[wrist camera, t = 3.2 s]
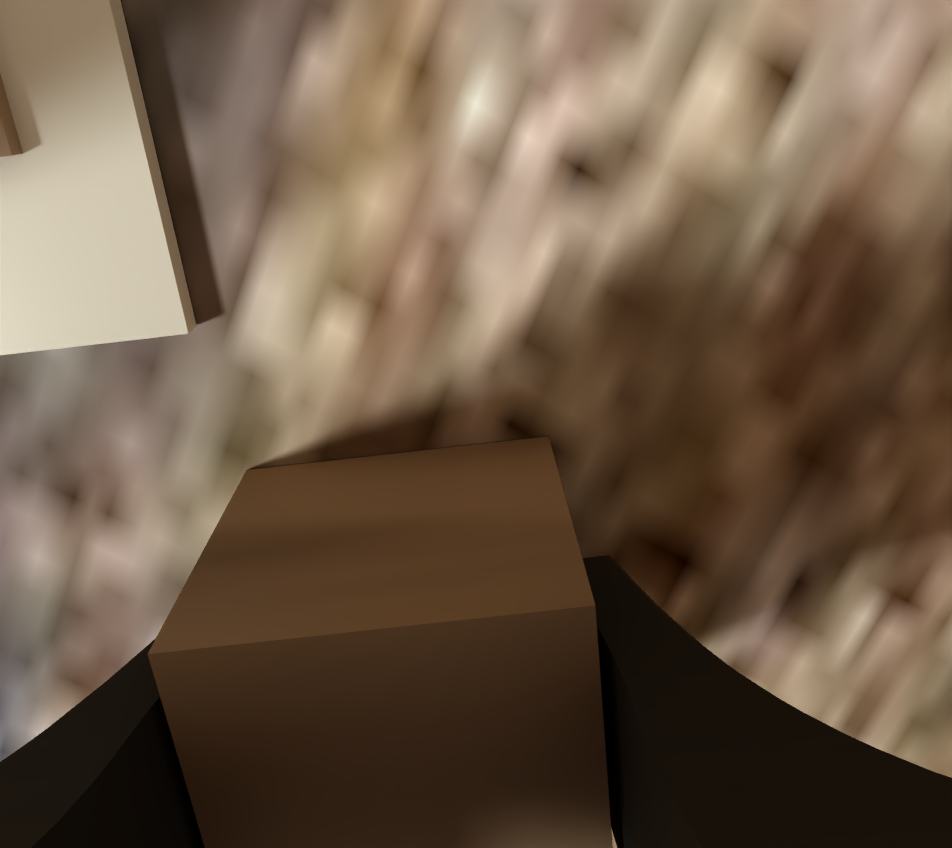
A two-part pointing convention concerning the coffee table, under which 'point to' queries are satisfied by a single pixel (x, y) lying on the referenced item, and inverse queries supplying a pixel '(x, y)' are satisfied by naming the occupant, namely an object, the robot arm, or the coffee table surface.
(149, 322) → the card
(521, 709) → the walnut cube
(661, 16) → the coffee table surface
